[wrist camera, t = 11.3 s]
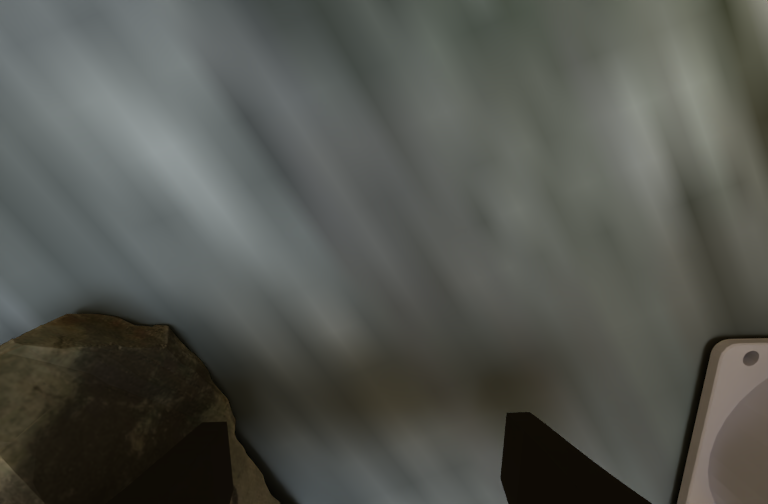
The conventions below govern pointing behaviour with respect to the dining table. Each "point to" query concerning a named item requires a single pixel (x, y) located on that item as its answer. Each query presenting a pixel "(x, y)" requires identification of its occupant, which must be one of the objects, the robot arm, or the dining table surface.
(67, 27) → the dining table surface
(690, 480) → the robot arm
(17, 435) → the stone block
